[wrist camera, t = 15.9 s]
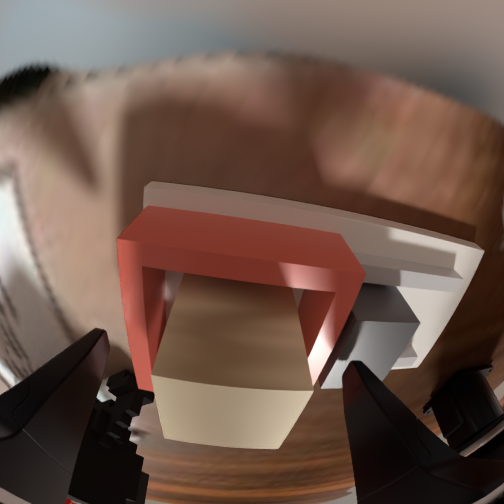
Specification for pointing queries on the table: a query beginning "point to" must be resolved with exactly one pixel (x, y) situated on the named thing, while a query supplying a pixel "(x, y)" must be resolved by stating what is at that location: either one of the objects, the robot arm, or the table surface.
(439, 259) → the slide switch base
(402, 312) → the toggle
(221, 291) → the block
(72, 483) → the security camera
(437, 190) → the table surface
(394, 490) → the robot arm
